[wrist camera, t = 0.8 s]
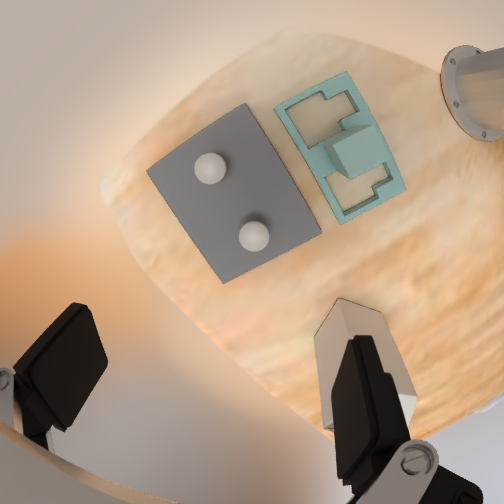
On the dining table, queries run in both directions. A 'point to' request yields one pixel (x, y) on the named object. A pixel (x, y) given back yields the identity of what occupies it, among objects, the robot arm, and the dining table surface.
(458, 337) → the dining table surface
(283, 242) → the board
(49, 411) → the robot arm
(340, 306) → the milk carton
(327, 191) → the teal frame with block
